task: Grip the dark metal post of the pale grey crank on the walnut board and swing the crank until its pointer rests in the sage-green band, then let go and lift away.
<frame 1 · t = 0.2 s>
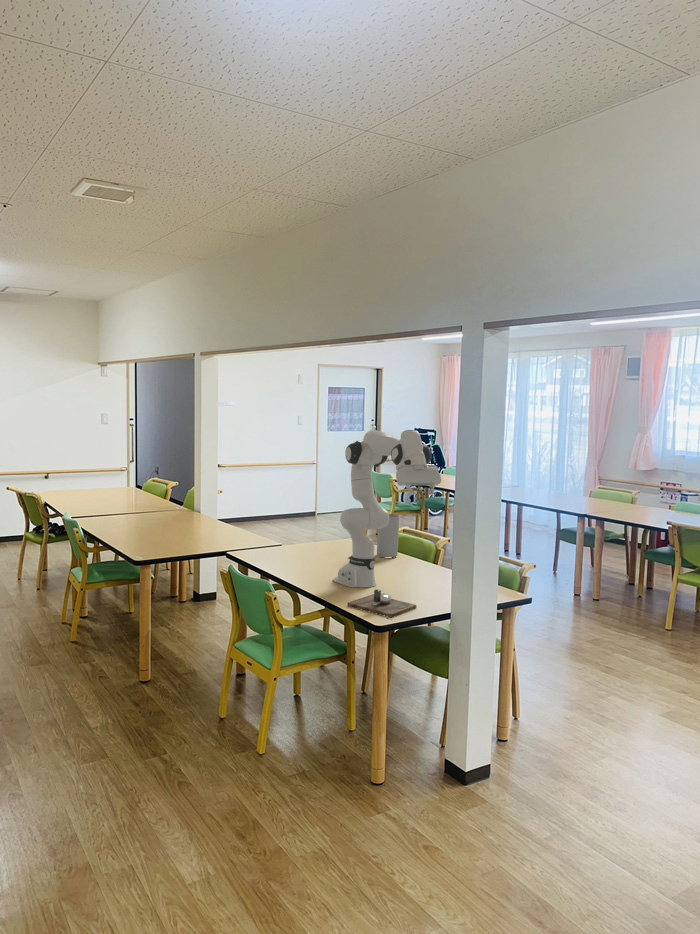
hand: (422, 494, 293), 54 cm above the table, tool tilted 30°, fingers open, 8 cm apart
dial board: (381, 607, 311), on the table
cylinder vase: (386, 556, 416), on the table
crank: (380, 595, 310), point 5 cm above the table, hinge at 0.0°
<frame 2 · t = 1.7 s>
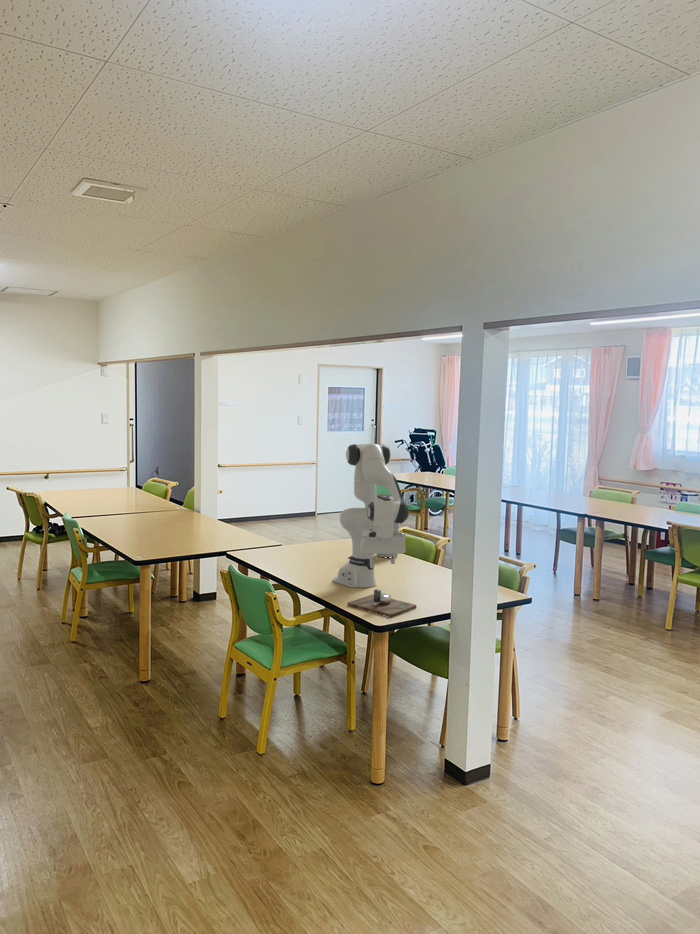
hand: (382, 563, 302), 22 cm above the table, tool pointing down, fingers open, 8 cm apart
nothing on the table moved.
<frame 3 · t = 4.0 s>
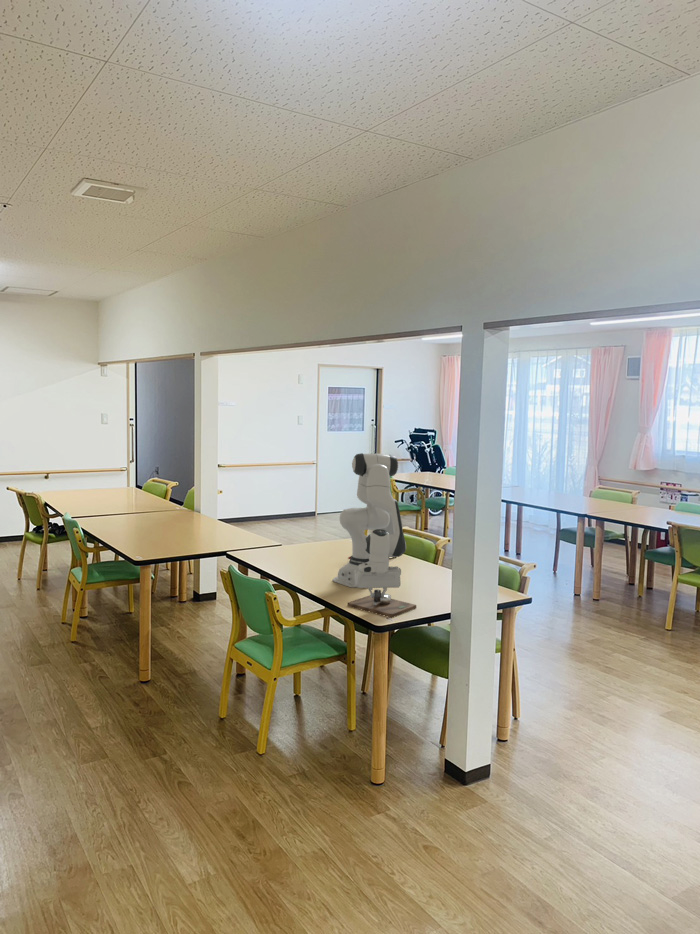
hand: (377, 597, 305), 6 cm above the table, tool pointing down, fingers closed on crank, 3 cm apart
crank: (380, 595, 310), point 5 cm above the table, hinge at 0.1°, touching gripper
everything else where it was.
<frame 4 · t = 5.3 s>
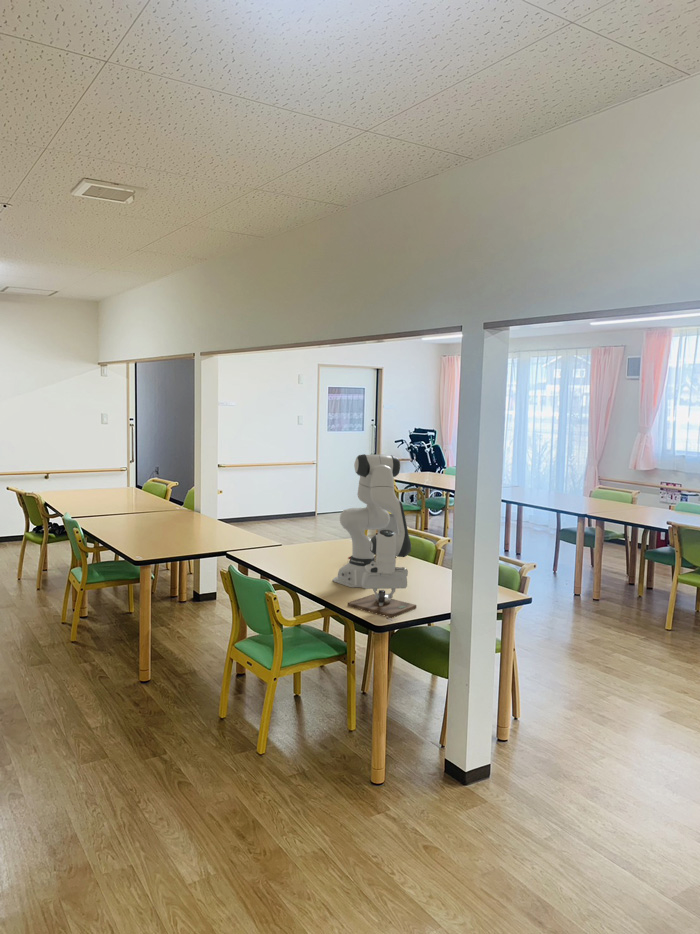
hand: (383, 598, 305), 6 cm above the table, tool pointing down, fingers open, 5 cm apart
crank: (382, 596, 309), point 5 cm above the table, hinge at 14.7°, touching gripper
everything else where it was.
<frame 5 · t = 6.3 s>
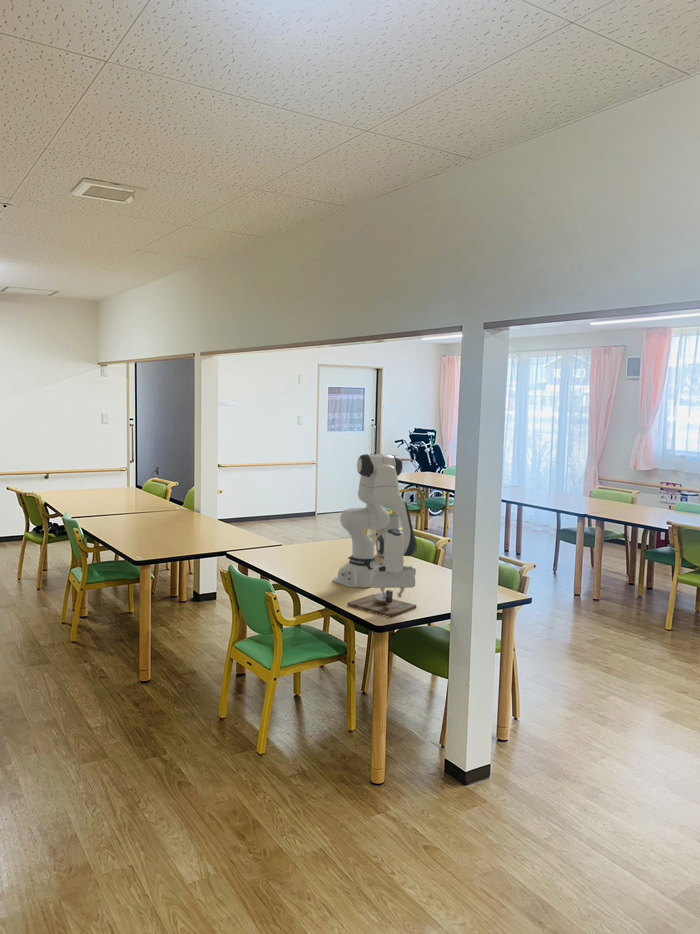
hand: (392, 597, 305), 6 cm above the table, tool pointing down, fingers open, 5 cm apart
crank: (385, 596, 309), point 5 cm above the table, hinge at 38.4°, touching gripper
everything else where it was.
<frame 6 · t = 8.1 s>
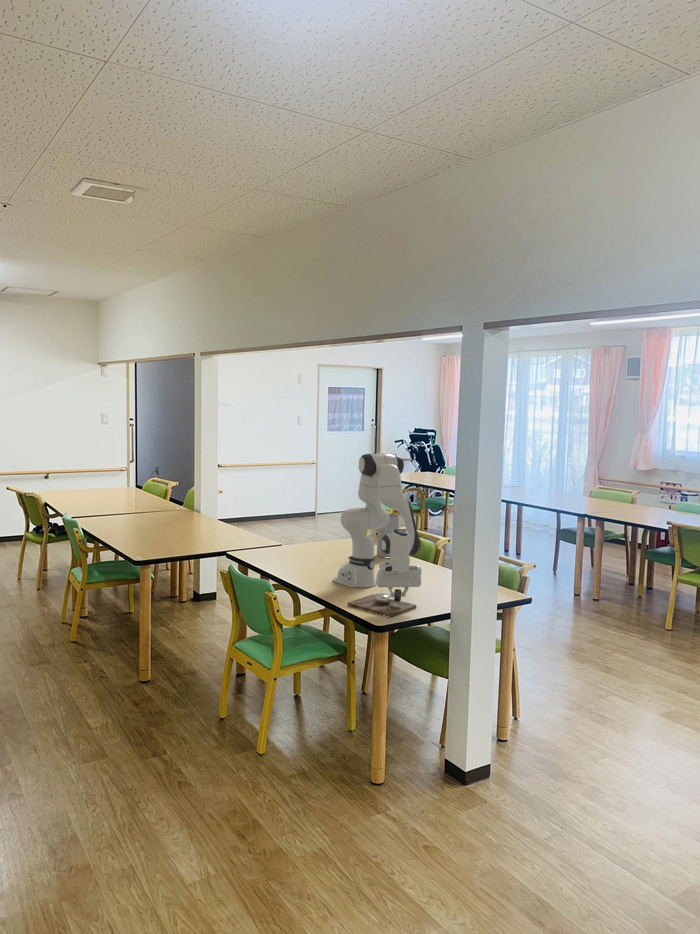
hand: (397, 596, 308), 6 cm above the table, tool pointing down, fingers open, 4 cm apart
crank: (389, 595, 311), point 5 cm above the table, hinge at 73.1°
everything else where it was.
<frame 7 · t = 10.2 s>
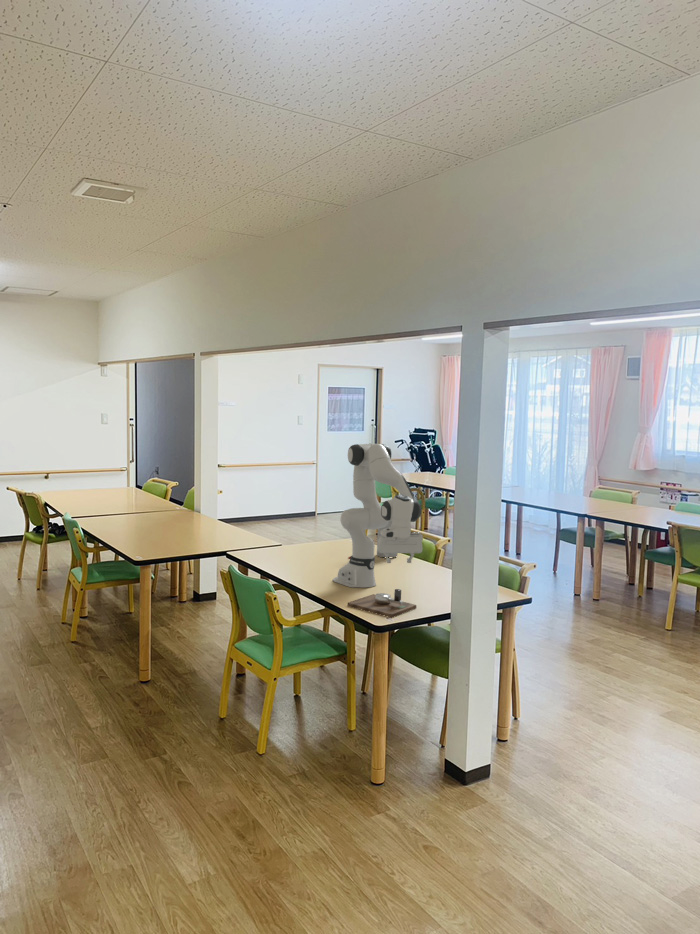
hand: (398, 562, 306), 22 cm above the table, tool pointing down, fingers open, 8 cm apart
nothing on the table moved.
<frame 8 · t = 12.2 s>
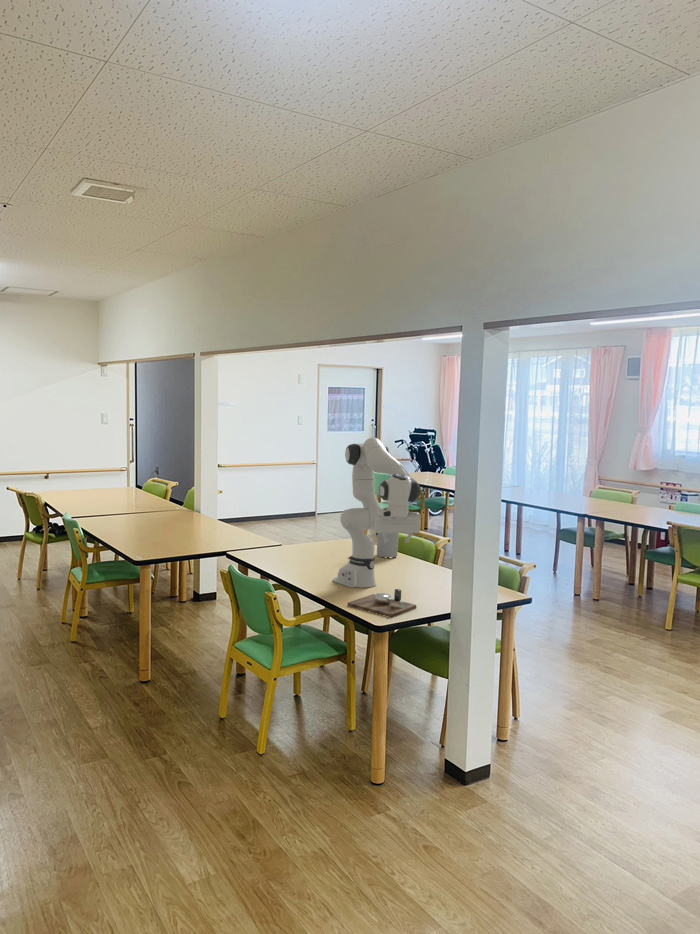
hand: (396, 543, 301), 31 cm above the table, tool pointing down, fingers open, 8 cm apart
nothing on the table moved.
at the end: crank at +73° (first picture: +0°); the gripper is holding nothing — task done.
